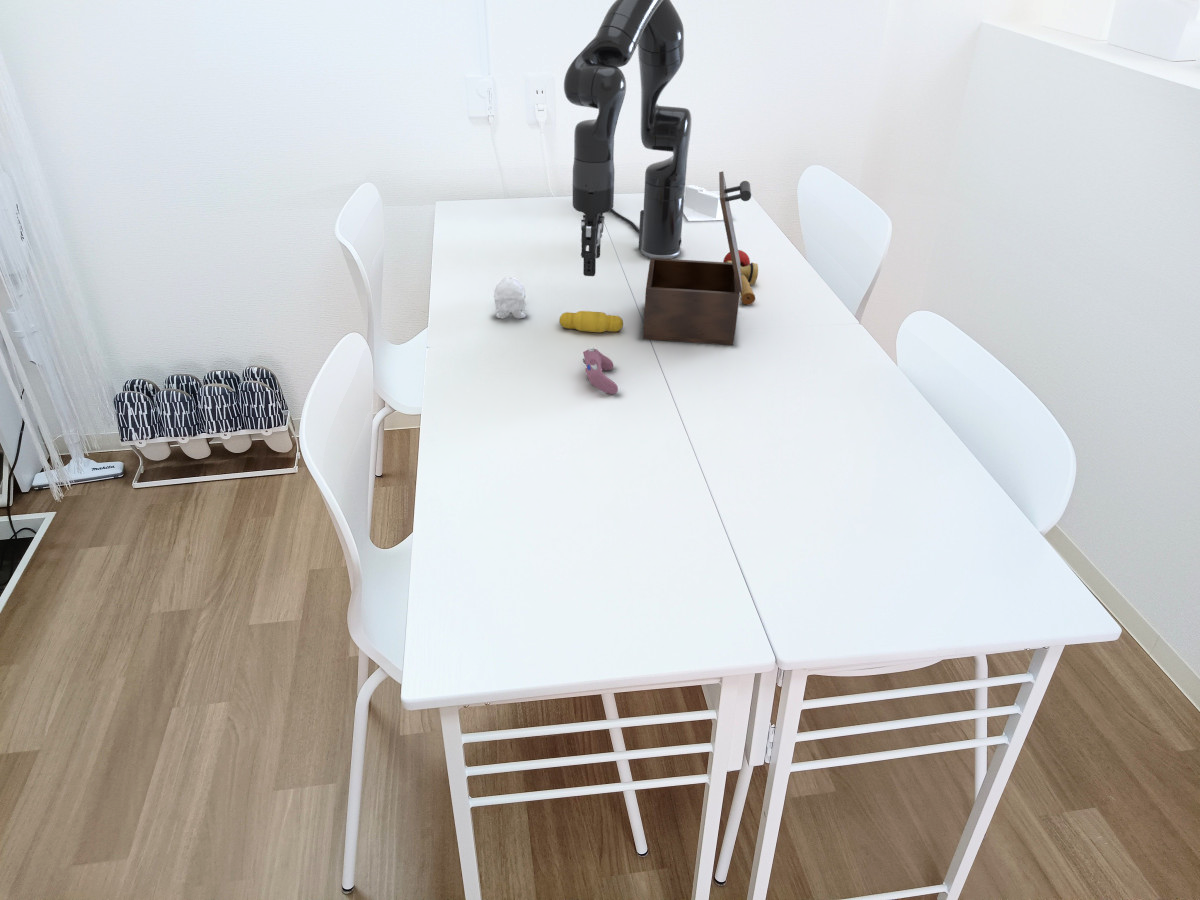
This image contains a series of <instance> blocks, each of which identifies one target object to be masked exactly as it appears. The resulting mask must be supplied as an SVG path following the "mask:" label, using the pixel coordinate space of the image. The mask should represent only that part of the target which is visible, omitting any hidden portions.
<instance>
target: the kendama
mask: <svg viewBox="0 0 1200 900" xmlns="http://www.w3.org/2000/svg"><path fill="white" fill-rule="evenodd" d="M738 252H739V257H740V267H741V282H742V292H740V300H741V303H742V304H744V305H745V306H747V305H748V306H749V305H752V304H753V303H754V302H755V301H756V295H755V293H754V291H753V289H752V286H754V285H755V284H756V282H757V280H758V276H759V264H758V263H756V262H751V260H750V259H751V258H750V257H749V255H748V254H747V253H746V252H745V251H743V250H742V249H738ZM722 262H727V263H732V260H731V254H730V251H729V252H728V253H726V255H725V256H724V257H723V261H722Z"/></svg>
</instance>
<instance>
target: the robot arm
mask: <svg viewBox="0 0 1200 900" xmlns="http://www.w3.org/2000/svg"><path fill="white" fill-rule="evenodd" d="M636 49H637V56H638V66H639V68H638V69H639V78H640V79H639V81H640V82H639V83H640V140H641V143H642V145H643V147H644V148H645V149H647V150H651V151H660V152H671V153H672V155H671V156H670V157H669V158H667V159H664V160H661V161H657V162H653V163H652V164H651V163H650V164H649V165H648V166H647V167H646V169H645V172H644V190H643V191H644V193H643V209H641V210H640V213H639V227H637V225H636V224H635V223H634V222H633V221H632V220H630V219H629V218H627V217H625V216H623V215H622V214H620V213H619V212H617V211H616V210H614V203H615V202H614V199H615V198H614V197H615V163H614V161H615V160H614V155H615V153H614V152H615V134H616V129H617V125H618V122H619V121H618V120H619V118H620V114H621V109H622V107H623V103H624V100H625V96H626V93H627V81H626V77H625V75H624V72H623V71H622V70H621V67H624V66H626V65H628V63H629V62H630V61H631V59H632V58H633V55H634V53H635V51H636ZM684 58H685V30H684V23H683V22H682V19H681V17H680V15H679V12H678V11H677V9H676V7H675V6H674V4H673V3H672V1H671V0H615V1H614V2H613V3H612V4H611V6H610V7H609V8H608V10H607V12H606V14H605V16H604V18H603V20H602V23H601V24H600V26H599V28H598V30H597V32H596V34H595V37H593V39H592V40H591V41H590V42H588V44H587V45H586V46H585V47H584V48H583V49H582V50H581V51H580V53H578V54H577V56H576V57H575V58H574V59H573V60H572V62H571V63H570V64H569V67H568V69H567V70H566V72H565V76H564V78H563V91H564V95H565V98H566V99H567V101H568V102H569V103H571V104H572V105H575V106H577V107H578V106H579V107H585V108H590V109H598V113H597V117H596V118H594V119H586V120H582V121H579V122H578V123H577V124H576V125H575V128H574V131H573V132H574V133H573V147H574V148H573V163H572V208H573V209H574V210H575V211H577V212H580V213H582V219H581V220H580V231H581V233H580V234H581V235H580V236H581V238H580V242H581V251H580V252H581V253H580V256H581V258H582V259H583V265H582V266H583V268H582V269H583V270H582V271H583V272H582V273H583V275H584V276H585V277H595V276H596V270H597V269H596V266H597V265H596V264H597V262H596V261H597V259H599V258H600V256H601V242H602V241H601V239H602V237H603V233H604V228H605V227H604V224H605V215H604V214H606V213H608V212H611V213H612V214H613V215H614V216H616V217H617V218H619V219H621V220H622V221H624V222H626V223H628V224H629V225H630V226H631V227H632V228H633V229H634V231H635V232H636V233H637V234H638V247H637V249H638V250H639V251H640V253H641V254H642V255H643V257H646V258H649V259H650V258H663V259H676V258H678V257H679V256H680V255H681V245H682V242H683V241H682V231H683V220H684V219H683V218H684V213H683V208H684V201H685V188H686V179H687V168H688V156H689V146H690V141H691V140H690V139H691V132H692V114H691V111H690V109H688V108H686V107H679V106H667V105H659V104H658V100H659V98H660V96H661V95H662V94H663V91H664V90H665V89H666V87H667V86H668V85H669V83H670V82H671V81H672V80H673V79H674V77H675V76H676V75H677V74H678V72H679V70H680V69H681V66H682V65H683V62H684ZM587 247H588V250H587Z"/></svg>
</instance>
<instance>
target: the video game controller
mask: <svg viewBox="0 0 1200 900" xmlns="http://www.w3.org/2000/svg"><path fill="white" fill-rule="evenodd" d="M582 354H583V358H582V363H583V364H584V365H585V369H584V371H585V374H586V377H587V379H588V381H589V383H590V385H592V386H595V388H597V389H598V390H600V391H601V392H603V393H605V394H609V395H615V394H617V393H618V391H619V388H618V385H617V384H616V383H615V382H614V381H613V380H612V379H610V378H609V377H607V376H606V374H604V373H603V370H604V371H611V370H613V368H614V362H613V361H612V360H611V358H609V357H608V356H606V355H605V354H603V353H602V352H601V351H600V350H599V349H597V348H595V347H593V348H588V349H586V350H584V351H582Z"/></svg>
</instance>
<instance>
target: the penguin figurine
mask: <svg viewBox="0 0 1200 900" xmlns="http://www.w3.org/2000/svg"><path fill="white" fill-rule="evenodd" d="M493 298H494V304H495V306H494V307H495V310H496V311H498V312H496V315H495V317H496V318H498V319H506V318H507V317H508V316H510V314H512V316H513V318H516V319H525V317H526V314H525V313H524V312H523V311H522V310H524V311H525V310H527V309H526V308H527V307H526V300H525V299H526V290H525V287H524V285H523V284H522V283H521V282H520V281H519V279H517V278H516V277H515V276H511V277H509V276H505V277H504V278H502V279H501V280H500V281H499V282H498V283H497V284H496V285H495V287H494V292H493Z"/></svg>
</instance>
